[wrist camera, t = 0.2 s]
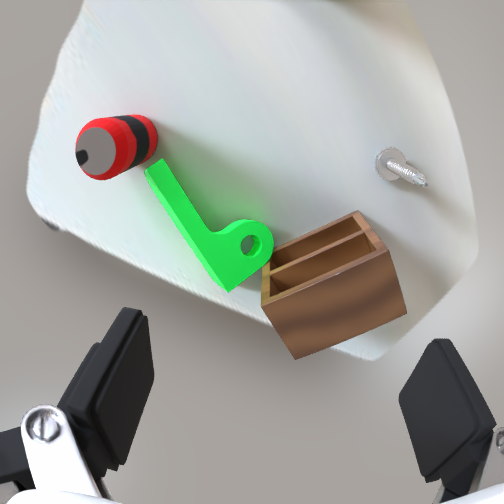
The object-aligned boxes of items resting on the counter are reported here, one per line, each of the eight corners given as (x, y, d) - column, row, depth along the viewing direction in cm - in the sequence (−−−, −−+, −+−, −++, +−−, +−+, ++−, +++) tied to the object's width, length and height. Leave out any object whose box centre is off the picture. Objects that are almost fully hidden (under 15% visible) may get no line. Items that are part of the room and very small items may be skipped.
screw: (380, 139, 40) (405, 156, 41) (365, 167, 42) (390, 183, 43) (420, 152, 28) (450, 176, 29) (399, 190, 30) (429, 211, 31)
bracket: (260, 244, 52) (281, 251, 46) (213, 280, 50) (228, 293, 43) (197, 138, 45) (210, 129, 39) (142, 173, 43) (146, 168, 36)
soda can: (106, 126, 41) (61, 135, 30) (149, 106, 40) (111, 108, 29) (122, 170, 44) (81, 191, 33) (165, 154, 43) (132, 170, 32)
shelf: (262, 253, 49) (260, 306, 36) (357, 210, 45) (388, 250, 32) (290, 301, 52) (295, 360, 40) (377, 262, 49) (407, 313, 36)
